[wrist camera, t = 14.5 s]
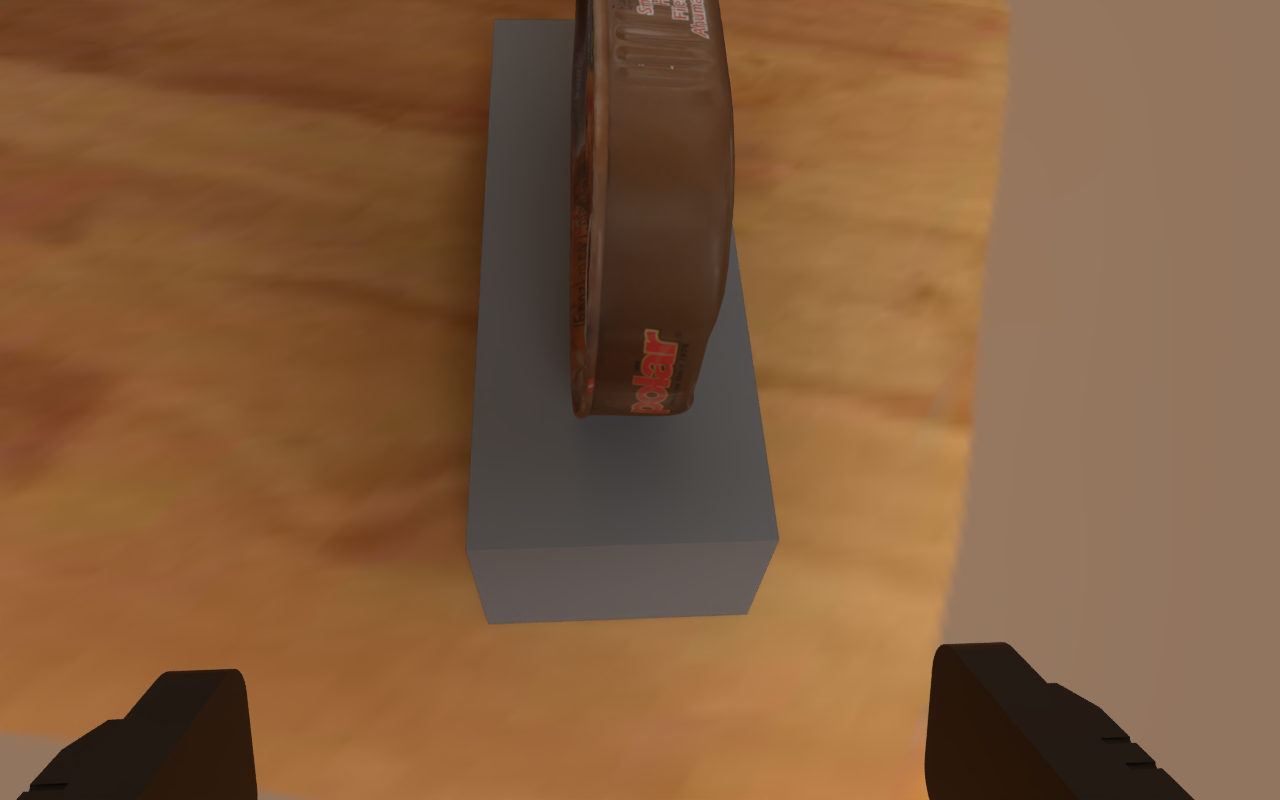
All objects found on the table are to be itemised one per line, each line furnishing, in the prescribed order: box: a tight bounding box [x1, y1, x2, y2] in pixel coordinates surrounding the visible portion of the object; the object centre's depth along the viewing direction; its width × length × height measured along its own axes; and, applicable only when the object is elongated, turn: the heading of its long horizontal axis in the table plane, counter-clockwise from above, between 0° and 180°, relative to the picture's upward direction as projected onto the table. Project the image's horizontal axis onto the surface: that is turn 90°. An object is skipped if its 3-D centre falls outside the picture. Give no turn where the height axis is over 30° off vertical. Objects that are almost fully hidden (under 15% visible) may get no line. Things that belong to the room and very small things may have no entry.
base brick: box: [466, 19, 779, 624], centre depth 27 cm, size 7×19×5 cm, turn 3°
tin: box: [570, 0, 735, 419], centre depth 21 cm, size 15×3×8 cm, turn 2°
